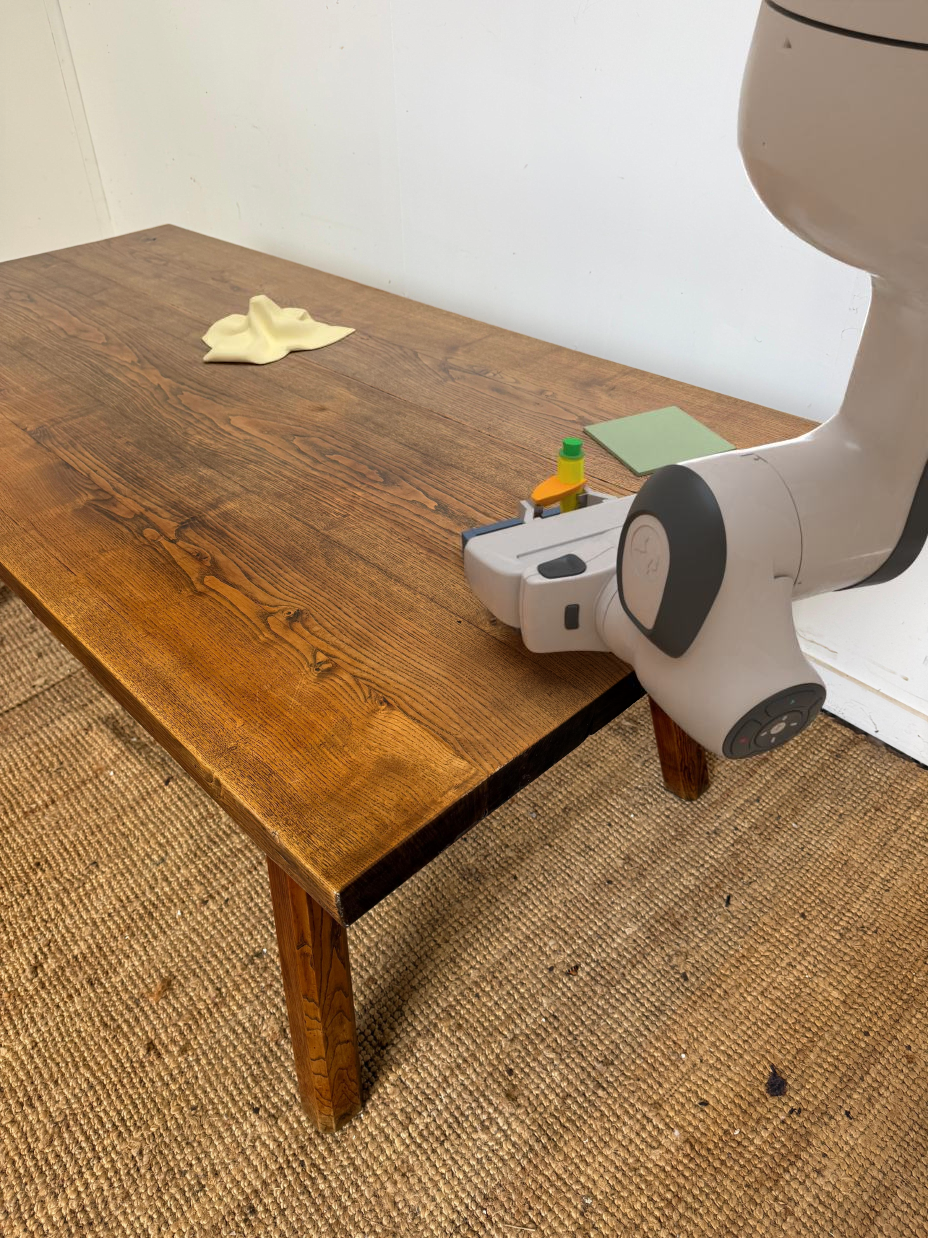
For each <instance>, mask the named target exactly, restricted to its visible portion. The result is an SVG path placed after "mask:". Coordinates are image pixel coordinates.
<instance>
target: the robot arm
mask: <svg viewBox="0 0 928 1238" xmlns="http://www.w3.org/2000/svg"><path fill="white" fill-rule="evenodd" d="M736 136H737V137H736V143H737V144H736V145H737V151H738V154H739V158H740V162H741V165H742V169H743V170H744V172H745V173H744V174H745V176H746V178H747V182H748V183H749V185H750V187H751V189H752V191H753V193H754V195H755V197H756V198H757V199H758V201H759V202H760V204H761V205H762V207H763V208H764V209H765V210H766V211H767V213H768V214H769V215H770V216H771V217H772V218H773V219H774V220H775V221H776V222H777V223H778V224H779V225H780V226H781V227H783V228H784V229H785V230H786V231H787V232H789V234H791V235H792V236H794V237H796V238H797V239H798V240H800V241H801V242H803V243H804V244H806V245H808V246H809V247H811V248H813V249H814V250H816V251H818V252H819V253H822V254H823V255H825V256H827V257H829V258H830V259H833V260H835V261H836V262H839V263H841V264H844V265H846V266H848V267H851V268H853V269H856V270H858V271H860V272H863V273H865V274H868V276H869V283H870V297H869V303H868V307H867V312H866V314H865V318H864V322H863V325H862V326H863V327H862V329H861V332H860V336H859V341H858V345H857V349H856V352H855V355H854V359H853V363H852V367H851V371H850V374H849V378H848V382H847V385H846V387H845V388H846V389H845V392H844V396H843V400H842V403H841V405H840V407H839V408H838V410H837V411H836V412H835V413H834V414H833V415H832V416H831V417H829V418H828V419H827V420H826V421H825V422H824V423H822V424H821V425H819V426H816V428H814V429H813V430H811V431H808V432H807V433H804V434H801V435H800V436H797V437H794V438H790V439H785V440H781V441H776V442H772V443H771V442H770V443H767V444H762V445H757V446H752V447H747V448H743V449H737V450H733V451H727V452H723V453H718V454H713V455H708V456H704V457H699V458H695V459H691V460H686V461H682V462H679V463H675V464H670V465H666V466H663V467H661V468H659V469H658V470H656V471H655V472H654V473H651V474H650V475H649V477H648V478H647V479H646V480H645V481H644V483H643V484H642V486H641V487H640V488H639V490H638V492H637V493H634V494H629V495H626V496H623V497H620V498H619V497H618V496H617V495H612V494H608V493H604V492H599V491H594V490H593V489H591V487H589V486H588V484H587V483H586V484H585V485H584V486H583V489H582V490H581V492H580V493H578V494H576V501H577V503H576V504H575V510H574V511H570V512H567V513H563V514H559V515H555V516H552V517H548V518H544V519H543V516H542V513H543V511H544V507H543V506H541V505H538V504H535V503H534V501H533V499H532V498H531V497H530V498H528V499H523V500H520V501H518V503H517V513H518V514H517V515H518V517H519V518H520V520H521V521H522V522H523V524H522V525H518V526H514V527H511V528H507V529H503V530H499V531H496V532H492V533H488V534H484V535H480V536H476V537H473V538H471V539H470V540H469V541H468V542H467V544H466V546H465V549H464V560H463V566H464V567H463V569H464V574H465V580H466V583H467V584H468V586H469V588H470V589H471V591H472V592H473V593H474V595H475V596H476V597H477V599H478V600H479V601H480V602H481V603H482V604H483V606H485V607H486V609H487V610H488V611H489V612H490V613H491V614H493V616H494V617H495V618H497V619H498V620H499V621H500V622H502V623H503V624H506V625H507V626H510V627H513V628H514V627H516V628H521V632H522V633H521V638H522V643H523V644H524V646H525V647H526V649H528V650H529V651H530V652H532V653H537V654H549V653H559V652H560V653H561V652H575V651H576V652H578V651H579V652H580V651H587V652H602V653H608V652H609V653H611V652H612V653H613V655H615V656H616V657H617V658H618V659H620V660H621V661H623V662H624V663H626V664H629V665H631V667H632V668H633V670H634V673H635V675H636V677H637V680H638V681H639V683H640V685H641V686H642V688H643V689H644V691H645V692H646V693H647V694H648V695H649V696H650V698H651V699H652V700H653V701H654V702H655V703H656V704H657V705H658V706H659V708H661V709H662V710H663V711H664V713H665V714H666V715H667V716H668V718H670V719H671V721H673V722H674V723H675V724H676V725H677V726H678V727H679V728H680V729H681V730H683V732H685V733H686V734H687V735H688V736H689V737H690V738H691V739H693V740H694V741H695V742H696V743H697V744H698V745H700V746H701V747H703V748H704V749H705V750H707V751H709V752H711V753H712V754H714V755H716V756H718V757H721V758H723V759H727V760H731V761H733V760H745V759H748V758H752V757H755V756H756V757H757V756H760V755H762V754H765V753H768V752H770V751H773V750H775V749H777V748H780V747H782V746H784V745H787V744H788V742H790V741H791V740H793V739H794V738H796V737H797V736H798V735H800V734H802V733H803V732H804V731H805V730H806V729H807V728H808V727H810V726H811V724H812V723H813V722H814V721H815V719H816V718H817V716H818V715H819V713H820V712H821V710H822V708H823V707H824V705H825V703H826V699H827V695H828V693H827V687H826V684H825V682H824V681H823V677H821V675H820V674H819V673H818V671H817V670H816V668H815V667H814V666H813V665H812V663H811V662H810V661H809V660H808V658H807V657H806V656H805V655H804V653H803V651H802V647H801V645H800V642H799V639H798V635H797V632H796V626H795V621H794V616H793V603H795V602H798V601H802V600H806V599H809V598H814V597H817V596H820V595H824V594H828V593H831V592H833V593H835V592H836V593H837V592H843V591H847V590H853V589H859V588H865V587H871V586H878V585H881V584H885V583H887V582H891V581H893V580H894V579H897V578H898V577H899V576H901V575H902V574H903V573H905V572H906V571H907V570H908V569H909V568H910V567H911V566H912V565H913V564H914V562H915V561H916V560H917V558H918V557H919V556H920V554H921V552H922V551H923V548H924V546H925V544H926V541H927V540H928V0H761V3H760V5H759V9H758V14H757V18H756V22H755V26H754V29H753V32H752V37H751V41H750V44H749V49H748V53H747V57H746V60H745V65H744V69H743V74H742V79H741V85H740V91H739V98H738V108H737V125H736Z"/></svg>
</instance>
